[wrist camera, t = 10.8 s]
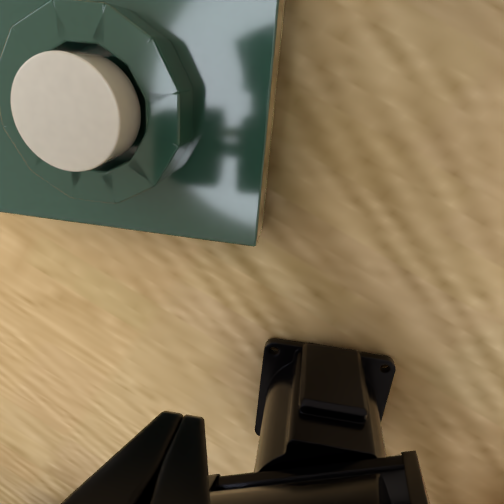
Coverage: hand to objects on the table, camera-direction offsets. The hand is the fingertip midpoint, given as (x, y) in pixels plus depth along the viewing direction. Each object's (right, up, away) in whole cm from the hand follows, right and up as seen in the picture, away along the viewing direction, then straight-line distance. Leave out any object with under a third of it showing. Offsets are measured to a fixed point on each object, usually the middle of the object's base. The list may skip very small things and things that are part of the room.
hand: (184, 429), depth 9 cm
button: (-4, +8, +6) cm, 11 cm away
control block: (-4, +10, +9) cm, 14 cm away
